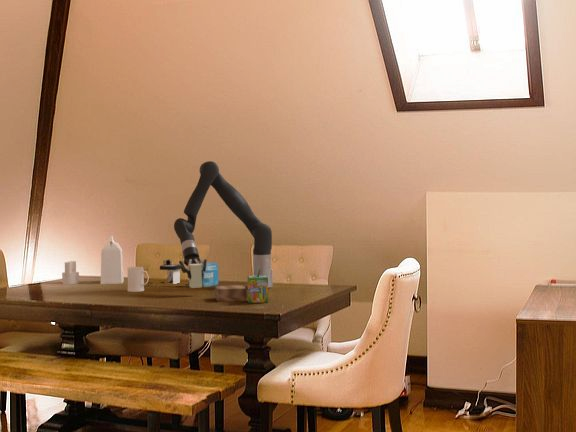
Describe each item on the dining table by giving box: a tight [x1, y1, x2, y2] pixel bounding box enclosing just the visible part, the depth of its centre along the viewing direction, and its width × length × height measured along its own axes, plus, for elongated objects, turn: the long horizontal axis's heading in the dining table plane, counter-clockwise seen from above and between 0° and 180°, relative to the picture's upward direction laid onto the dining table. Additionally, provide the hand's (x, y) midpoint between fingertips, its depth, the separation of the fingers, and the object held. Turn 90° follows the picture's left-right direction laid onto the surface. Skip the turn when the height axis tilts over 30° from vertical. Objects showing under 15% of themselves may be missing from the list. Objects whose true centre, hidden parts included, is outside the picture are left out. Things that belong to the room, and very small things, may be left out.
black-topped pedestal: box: [150, 258, 189, 286], centre depth 441 cm, size 28×26×13 cm
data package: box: [200, 262, 219, 288], centre depth 428 cm, size 12×4×12 cm, turn 142°
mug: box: [126, 266, 150, 293], centre depth 409 cm, size 12×8×12 cm
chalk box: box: [246, 269, 269, 304], centre depth 363 cm, size 9×9×15 cm
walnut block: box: [214, 284, 248, 303], centre depth 372 cm, size 13×13×6 cm
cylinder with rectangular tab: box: [61, 260, 80, 285], centre depth 449 cm, size 9×9×12 cm
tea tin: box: [188, 263, 203, 289], centre depth 387 cm, size 5×5×11 cm
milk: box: [100, 235, 125, 285], centre depth 450 cm, size 12×12×26 cm
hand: (196, 277), depth 385 cm, fingers closed on tea tin, 5 cm apart
